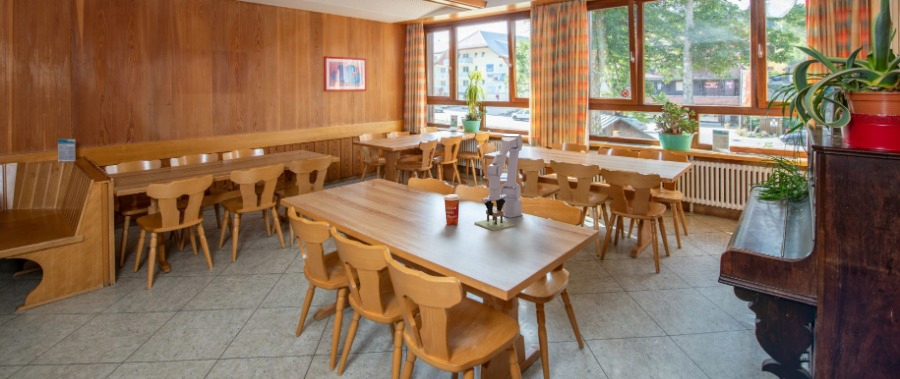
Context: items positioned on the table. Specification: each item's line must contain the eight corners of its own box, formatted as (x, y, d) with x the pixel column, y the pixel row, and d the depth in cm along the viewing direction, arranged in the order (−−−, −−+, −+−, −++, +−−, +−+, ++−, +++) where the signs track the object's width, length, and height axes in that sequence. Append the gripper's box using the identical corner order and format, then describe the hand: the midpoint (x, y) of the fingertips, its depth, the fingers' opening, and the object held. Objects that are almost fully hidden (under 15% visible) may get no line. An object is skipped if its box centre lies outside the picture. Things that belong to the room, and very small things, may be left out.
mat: (495, 219, 255) (495, 217, 255) (515, 226, 242) (515, 224, 242) (474, 223, 248) (474, 222, 248) (493, 231, 235) (493, 229, 234)
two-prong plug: (503, 223, 243) (503, 211, 241) (495, 224, 240) (495, 213, 239) (493, 219, 249) (493, 208, 248) (486, 221, 246) (485, 210, 245)
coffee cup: (441, 225, 247) (440, 196, 244) (449, 221, 254) (448, 193, 251) (456, 227, 243) (455, 198, 240) (463, 222, 250) (462, 194, 247)
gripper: (500, 185, 248) (500, 210, 251) (478, 188, 240) (478, 215, 243) (509, 187, 242) (509, 213, 245) (486, 191, 234) (487, 218, 237)
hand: (494, 214), depth 244 cm, fingers closed on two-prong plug, 5 cm apart
